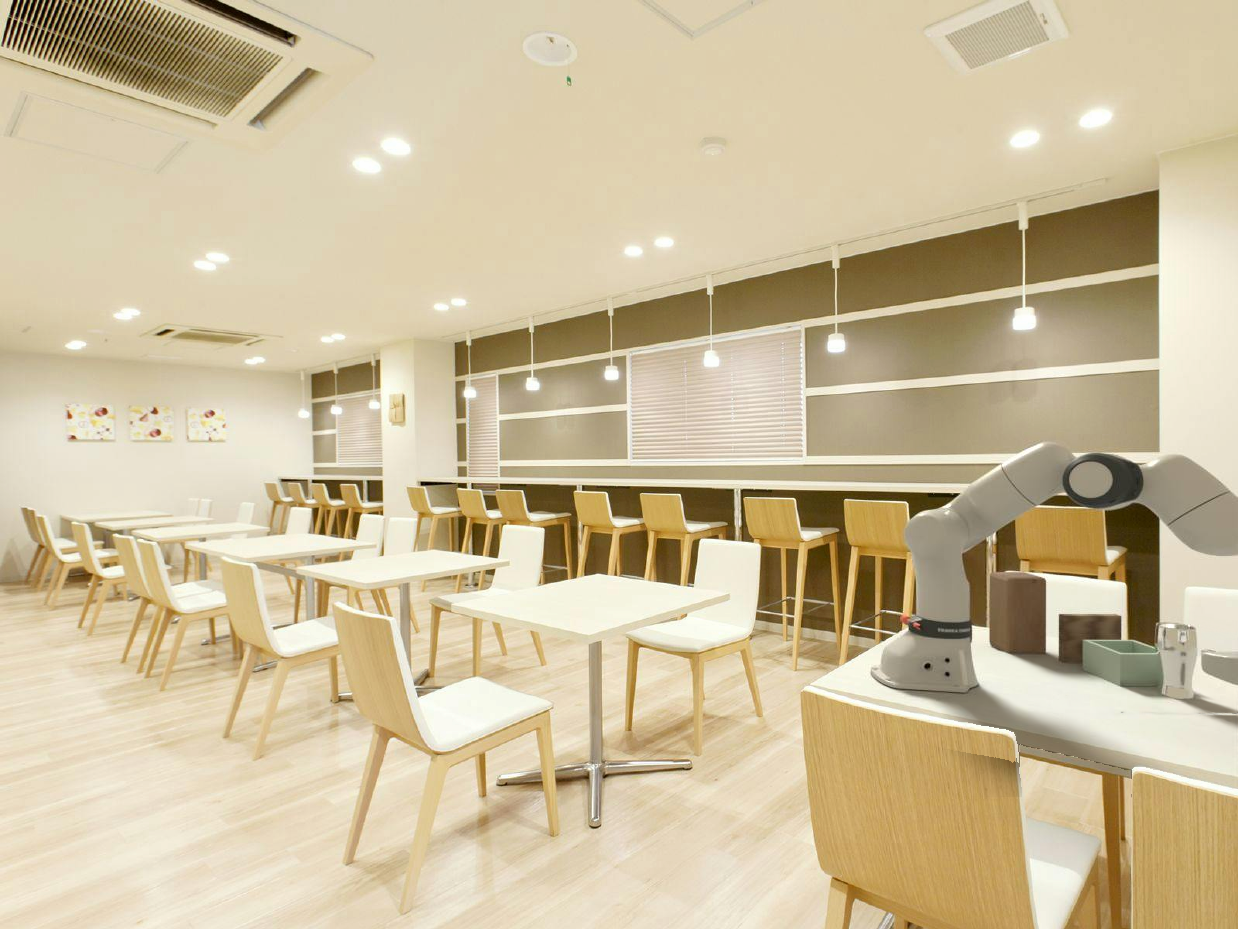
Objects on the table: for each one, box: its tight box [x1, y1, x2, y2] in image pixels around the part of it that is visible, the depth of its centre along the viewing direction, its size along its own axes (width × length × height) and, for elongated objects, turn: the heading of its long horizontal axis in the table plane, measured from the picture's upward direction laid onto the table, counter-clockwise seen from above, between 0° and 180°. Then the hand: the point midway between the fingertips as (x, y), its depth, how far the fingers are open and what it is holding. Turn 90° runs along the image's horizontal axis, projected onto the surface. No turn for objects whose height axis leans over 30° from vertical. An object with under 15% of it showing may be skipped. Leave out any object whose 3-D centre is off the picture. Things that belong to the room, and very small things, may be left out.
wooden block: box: [988, 571, 1047, 655], centre depth 177 cm, size 10×10×20 cm
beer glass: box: [1154, 621, 1198, 700], centre depth 142 cm, size 7×7×15 cm
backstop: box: [1058, 613, 1122, 664], centre depth 156 cm, size 14×20×12 cm
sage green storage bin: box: [1082, 639, 1160, 687], centre depth 153 cm, size 12×12×7 cm
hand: (1229, 653), depth 130 cm, fingers open, 8 cm apart
